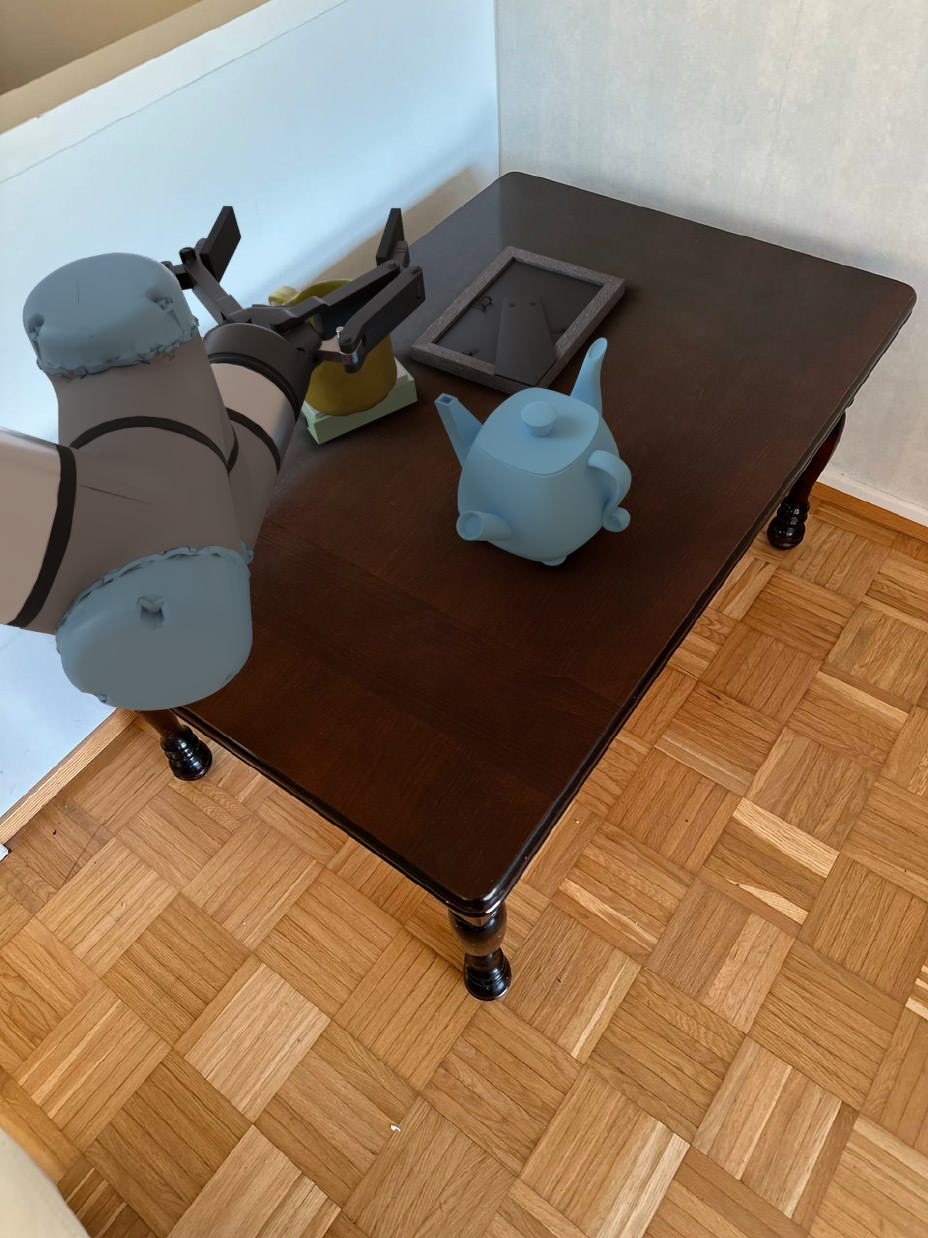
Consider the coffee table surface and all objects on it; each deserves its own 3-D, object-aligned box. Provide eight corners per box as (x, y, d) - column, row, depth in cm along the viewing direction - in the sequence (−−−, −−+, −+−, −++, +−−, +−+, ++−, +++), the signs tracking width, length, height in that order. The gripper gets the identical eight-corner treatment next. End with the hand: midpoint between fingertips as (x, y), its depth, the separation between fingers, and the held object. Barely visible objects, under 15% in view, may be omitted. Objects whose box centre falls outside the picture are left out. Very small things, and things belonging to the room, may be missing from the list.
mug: (440, 371, 77) (382, 279, 70) (350, 451, 77) (282, 366, 70) (377, 324, 85) (318, 237, 78) (295, 396, 85) (229, 315, 78)
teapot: (441, 464, 78) (427, 357, 68) (598, 440, 78) (605, 330, 69) (466, 606, 69) (455, 505, 60) (644, 578, 69) (659, 473, 60)
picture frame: (534, 403, 81) (624, 293, 90) (534, 385, 80) (625, 275, 88) (412, 359, 86) (508, 258, 94) (409, 342, 84) (507, 241, 93)
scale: (317, 445, 80) (310, 420, 78) (281, 395, 84) (273, 370, 82) (417, 400, 83) (413, 374, 80) (377, 354, 87) (373, 328, 84)
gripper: (88, 437, 65) (180, 262, 77) (432, 454, 61) (472, 268, 73) (41, 351, 58) (149, 175, 71) (420, 364, 55) (466, 177, 67)
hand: (314, 222), depth 72 cm, fingers open, 13 cm apart
